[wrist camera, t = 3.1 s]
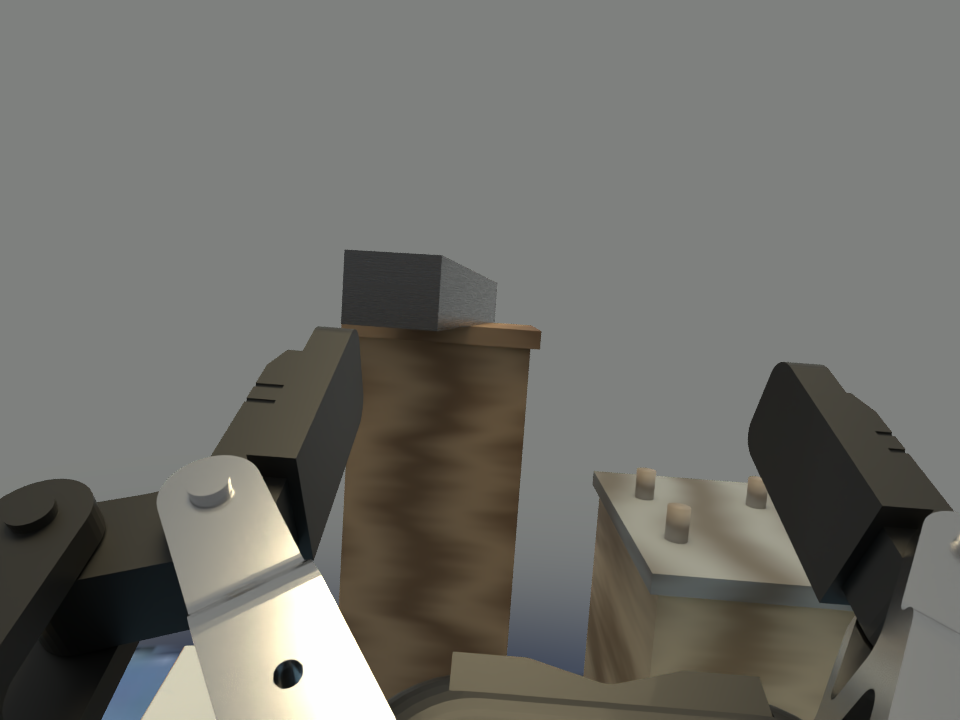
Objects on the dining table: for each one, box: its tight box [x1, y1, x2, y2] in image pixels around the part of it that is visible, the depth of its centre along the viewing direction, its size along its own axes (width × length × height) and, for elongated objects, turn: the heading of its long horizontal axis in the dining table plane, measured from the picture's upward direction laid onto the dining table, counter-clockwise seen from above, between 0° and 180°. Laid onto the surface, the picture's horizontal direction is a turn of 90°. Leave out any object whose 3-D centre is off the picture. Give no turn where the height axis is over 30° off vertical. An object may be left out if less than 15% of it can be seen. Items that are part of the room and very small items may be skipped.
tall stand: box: [339, 323, 541, 701], centre depth 39 cm, size 11×11×32 cm
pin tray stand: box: [583, 468, 855, 720], centre depth 36 cm, size 12×17×23 cm
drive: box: [341, 250, 497, 331], centre depth 34 cm, size 4×22×3 cm, turn 173°
